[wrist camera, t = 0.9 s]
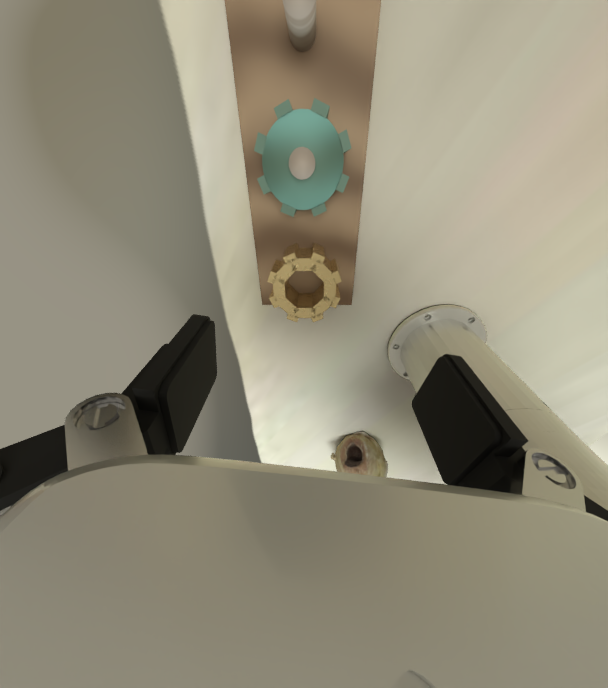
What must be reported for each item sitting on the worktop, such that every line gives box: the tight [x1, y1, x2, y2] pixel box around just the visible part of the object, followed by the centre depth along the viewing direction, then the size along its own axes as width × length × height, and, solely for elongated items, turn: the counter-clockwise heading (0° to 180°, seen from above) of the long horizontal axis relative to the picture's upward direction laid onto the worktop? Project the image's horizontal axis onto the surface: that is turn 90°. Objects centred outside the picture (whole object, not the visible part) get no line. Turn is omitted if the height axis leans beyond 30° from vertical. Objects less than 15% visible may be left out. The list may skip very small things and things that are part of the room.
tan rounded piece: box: [331, 432, 388, 477], centre depth 45 cm, size 9×8×10 cm
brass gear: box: [267, 243, 342, 322], centre depth 27 cm, size 8×8×4 cm
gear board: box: [225, 0, 381, 305], centre depth 22 cm, size 26×11×6 cm, turn 1°
